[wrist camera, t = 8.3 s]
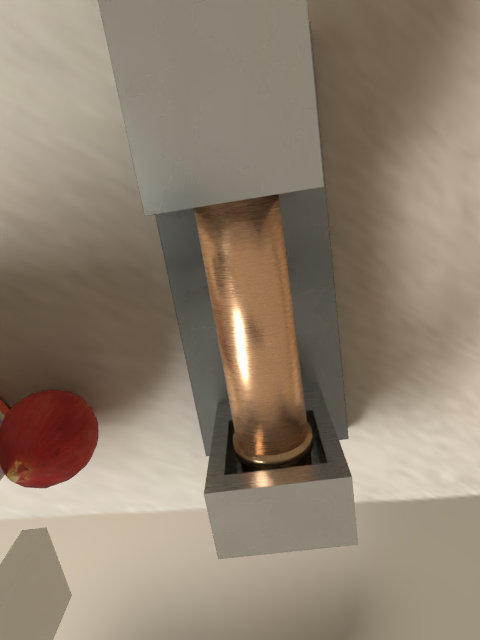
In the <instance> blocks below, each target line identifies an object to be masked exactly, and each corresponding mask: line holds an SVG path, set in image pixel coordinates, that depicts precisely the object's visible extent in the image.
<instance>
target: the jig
mask: <svg viewBox="0 0 480 640" xmlns="http://www.w3.org/2000/svg"><path fill="white" fill-rule="evenodd" d="M98 3H99V8H100V12H101V17H102V22H103V26H104V31H105V35H106V40H107V45H108V49H109V54H110V58H111V63H112V67H113V72H114V77H115V81H116V86H117V90H118V95H119V100H120V104H121V109H122V113H123V118H124V123H125V127H126V132H127V136H128V141H129V145H130V150H131V155H132V159H133V164H134V168H135V173H136V178H137V182H138V187H139V191H140V196H141V200H142V205H143V210H144V214H145V216H146V215H153V214H155V215H156V220H157V225H158V230H159V234H160V239H161V244H162V249H163V253H164V258H165V263H166V268H167V272H168V277H169V282H170V287H171V291H172V296H173V301H174V306H175V310H176V315H177V320H178V325H179V329H180V334H181V339H182V344H183V348H184V353H185V358H186V363H187V367H188V372H189V377H190V382H191V386H192V391H193V396H194V401H195V405H196V410H197V415H198V419H199V424H200V429H201V434H202V438H203V443H204V448H205V453H206V456H209V463H208V470H207V477H206V483H205V490H204V497H205V501H206V506H207V510H208V515H209V519H210V524H211V528H212V533H213V538H214V542H215V547H216V551H217V556H218V559H224V558H234V557H243V556H253V555H263V554H273V553H282V552H292V551H301V550H310V549H320V548H330V547H339V546H349V545H357V544H358V539H357V527H356V517H355V506H354V494H353V484H352V476H351V473H350V470H349V467H348V465H347V462H346V459H345V456H344V453H343V450H342V448H341V445H340V442H339V440H343V439H348V429H347V419H346V408H345V397H344V386H343V375H342V364H341V353H340V342H339V331H338V321H337V310H336V299H335V288H334V277H333V266H332V255H331V244H330V233H329V223H328V212H327V201H326V190H325V179H324V168H323V157H322V146H321V135H320V125H319V114H318V103H317V92H316V81H315V70H314V59H313V48H312V37H311V27H310V22H309V21H308V10H307V0H98ZM276 194H279V200H280V208H281V216H282V224H283V232H284V240H285V248H286V257H287V265H288V273H289V281H290V289H291V297H292V305H293V313H294V321H295V329H296V337H297V345H298V353H299V361H300V370H301V378H302V386H303V394H304V402H305V410H306V418H307V422H308V423H309V424H310V426H311V429H312V437H313V449H312V452H311V458H312V465H306V466H298V467H289V468H281V469H273V470H264V471H256V472H247V473H242V469H241V463H240V462H239V461H238V459H237V458H236V455H235V450H234V445H233V434H234V432H235V430H234V425H233V419H232V414H231V409H230V403H229V398H228V392H227V387H226V381H225V376H224V370H223V365H222V359H221V354H220V349H219V343H218V338H217V332H216V327H215V321H214V316H213V310H212V305H211V299H210V294H209V289H208V283H207V278H206V272H205V267H204V261H203V256H202V250H201V245H200V239H199V234H198V229H197V223H196V218H195V212H194V208H196V207H202V206H208V205H214V204H220V203H226V202H232V201H239V200H245V199H251V198H257V197H263V196H269V195H276Z"/></svg>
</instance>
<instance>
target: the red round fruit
mask: <svg viewBox="0 0 480 640" xmlns="http://www.w3.org/2000/svg"><path fill="white" fill-rule="evenodd" d="M97 441H98V422H97V419H96V417H95V414H94V412H93V410H92V408H91V407H90V406H89V405H88V404H87V403H86V402H85V401H84V400H83V399H82V398H81V397H79V396H77V395H75V394H73V393H71V392H69V391H60V390H46V391H41V392H37V393H33V394H31V395H29V396H27V397H25V398H23V399H22V400H21V401H19V402H18V403H17V404H15V405H14V406H13V407H12V408H11V409H10V410H9V411H8V412H7V413H6V415H5V417H4V419H3V421H2V424H1V426H0V466H1V468H2V470H3V473H4V474H5V475H6V476H7V477H8V478H9V479H10V480H11V481H12V482H14V483H16V484H19V485H21V486H23V487H31V488H48V487H50V486H53V485H56V484H59V483H62V482H64V481H67V480H69V479H70V478H72V477H74V476H75V475H76V474H77V473H78V472H79V471H80V470H81V469H83V468H84V467H85V466H86V465H87V463H88V462H89V460H90V459H91V457H92V454H93V452H94V450H95V448H96V446H97Z"/></svg>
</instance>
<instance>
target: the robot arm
mask: <svg viewBox="0 0 480 640" xmlns="http://www.w3.org/2000/svg"><path fill="white" fill-rule="evenodd" d="M71 596H72V595H71V592H70V590H69V587H68V584H67V581H66V579H65V576H64V573H63V571H62V568H61V565H60V563H59V560H58V557H57V555H56V552H55V549H54V547H53V544H52V541H51V539H50V536H49V533H48V531H47V528H39V529H30V530H22V531H21V533H20V535H19V536H18V538H17V539H16V541H15V542H14V544H13V545H12V547H11V549H10V550H9V552H8V553H7V555H6V556H5V558H4V559H3V561H2V563H1V564H0V640H53V639H54V636H55V634H56V631H57V629H58V627H59V624H60V622H61V620H62V617H63V615H64V612H65V610H66V608H67V605H68V603H69V600H70V598H71Z"/></svg>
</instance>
